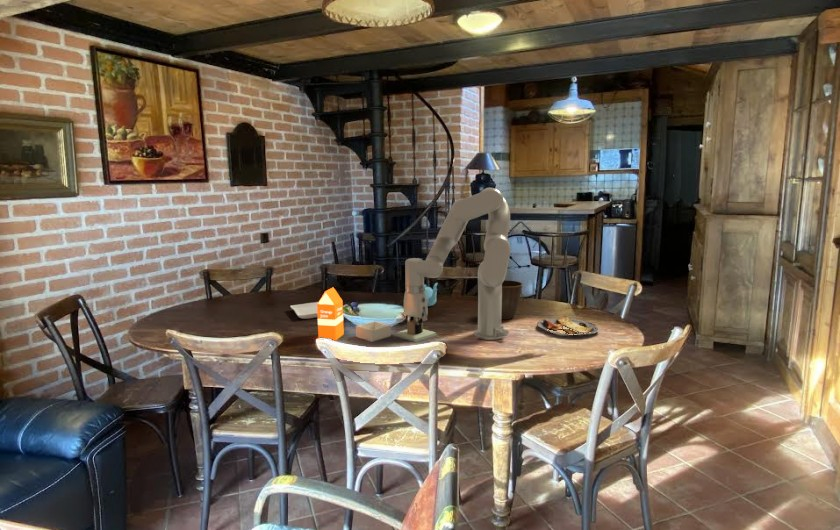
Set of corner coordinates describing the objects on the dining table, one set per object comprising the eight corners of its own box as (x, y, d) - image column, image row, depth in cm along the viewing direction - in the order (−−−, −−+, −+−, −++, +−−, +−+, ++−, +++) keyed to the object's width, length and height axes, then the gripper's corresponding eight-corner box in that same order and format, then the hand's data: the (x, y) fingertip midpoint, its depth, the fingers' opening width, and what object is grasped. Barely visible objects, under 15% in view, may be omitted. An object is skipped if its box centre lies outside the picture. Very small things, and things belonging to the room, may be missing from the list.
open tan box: (391, 337, 213) (390, 325, 212) (372, 342, 206) (372, 330, 205) (375, 332, 220) (374, 320, 219) (356, 337, 213) (356, 325, 212)
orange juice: (344, 333, 218) (342, 287, 215) (336, 340, 210) (334, 291, 206) (326, 332, 220) (324, 286, 217) (318, 339, 211) (315, 291, 208)
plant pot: (495, 322, 233) (496, 287, 230) (484, 314, 247) (485, 281, 245) (526, 320, 236) (527, 285, 233) (514, 312, 250) (515, 279, 248)
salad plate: (298, 322, 238) (297, 314, 237) (289, 311, 257) (289, 304, 256) (343, 316, 246) (343, 309, 246) (331, 306, 266) (331, 300, 265)
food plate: (527, 324, 228) (527, 317, 228) (571, 320, 237) (572, 312, 236) (561, 343, 205) (562, 334, 205) (609, 336, 214) (610, 328, 213)
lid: (435, 334, 214) (435, 320, 213) (415, 341, 206) (415, 326, 205) (415, 329, 223) (415, 315, 222) (394, 335, 214) (394, 321, 213)
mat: (439, 335, 214) (439, 334, 214) (415, 343, 204) (415, 342, 204) (415, 329, 224) (415, 328, 224) (391, 336, 214) (391, 335, 214)
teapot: (411, 301, 275) (411, 281, 274) (439, 301, 274) (439, 282, 272) (408, 307, 261) (407, 287, 259) (438, 308, 260) (438, 287, 258)
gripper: (435, 290, 208) (436, 334, 211) (407, 284, 219) (407, 326, 222) (422, 293, 203) (423, 338, 206) (394, 287, 214) (395, 330, 217)
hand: (415, 332), depth 214 cm, fingers closed on lid, 3 cm apart
